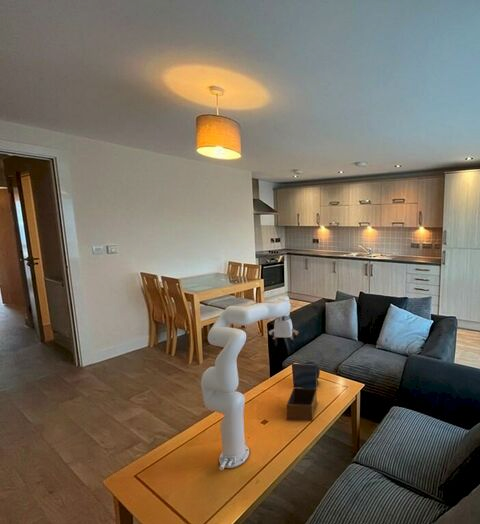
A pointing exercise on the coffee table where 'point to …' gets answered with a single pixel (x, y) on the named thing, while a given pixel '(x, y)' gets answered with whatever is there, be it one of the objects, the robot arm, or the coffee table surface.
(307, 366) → the blue-grey square panel
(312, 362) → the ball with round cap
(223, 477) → the coffee table surface
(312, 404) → the brown box
